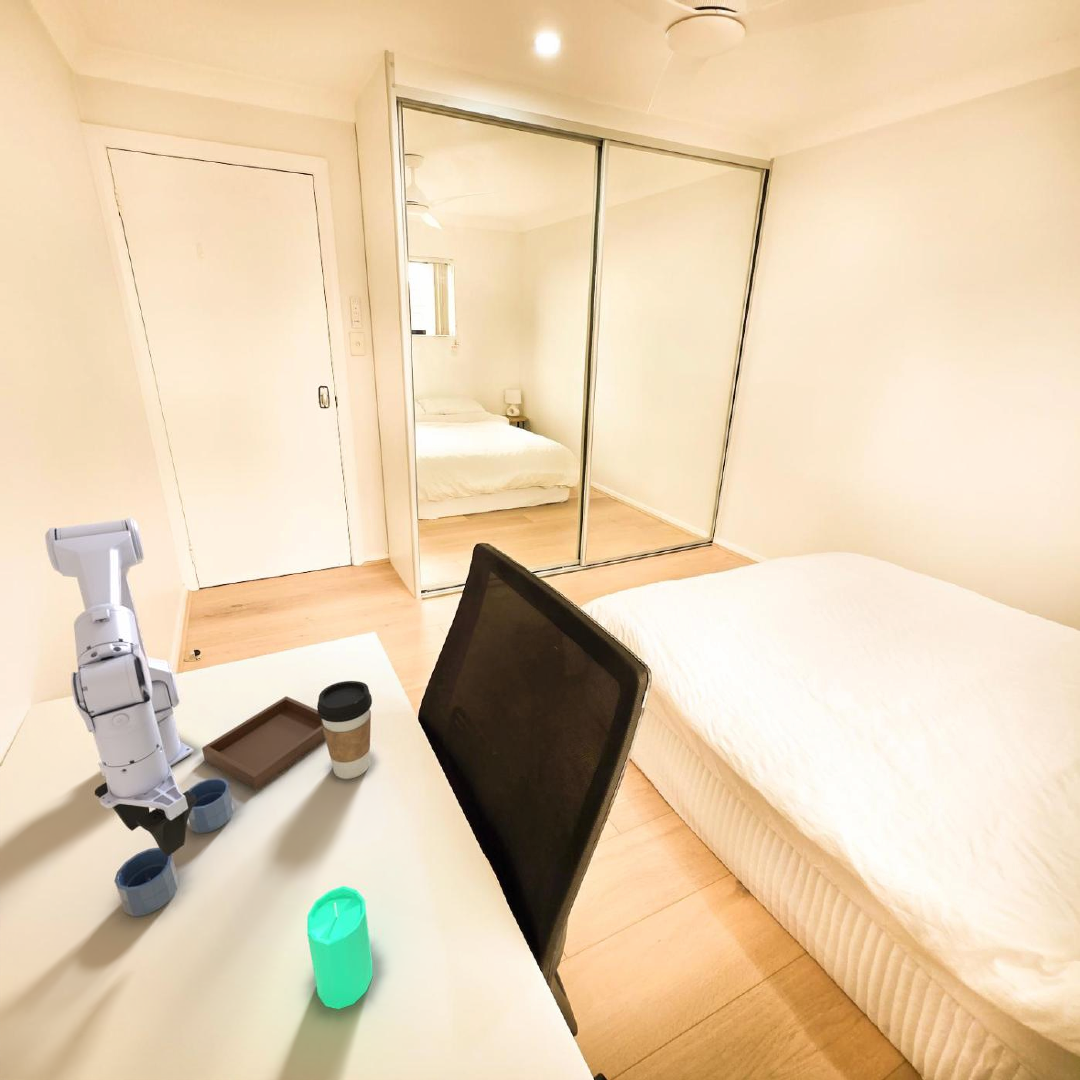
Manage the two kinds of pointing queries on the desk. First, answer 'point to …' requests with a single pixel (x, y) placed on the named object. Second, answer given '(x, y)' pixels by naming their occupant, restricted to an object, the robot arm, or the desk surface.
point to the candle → (340, 947)
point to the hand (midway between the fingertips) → (156, 836)
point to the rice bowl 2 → (210, 805)
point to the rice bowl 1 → (146, 882)
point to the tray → (266, 742)
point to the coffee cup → (347, 726)
